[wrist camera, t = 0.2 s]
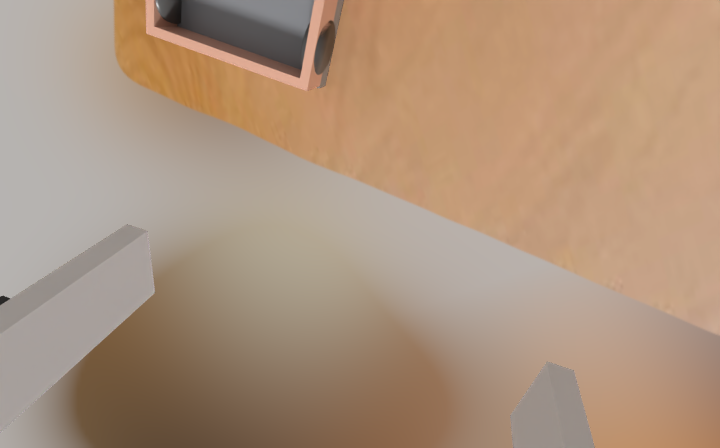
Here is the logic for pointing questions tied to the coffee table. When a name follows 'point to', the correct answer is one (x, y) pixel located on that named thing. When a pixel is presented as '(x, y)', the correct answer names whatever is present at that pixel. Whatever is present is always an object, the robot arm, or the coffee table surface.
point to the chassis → (254, 34)
